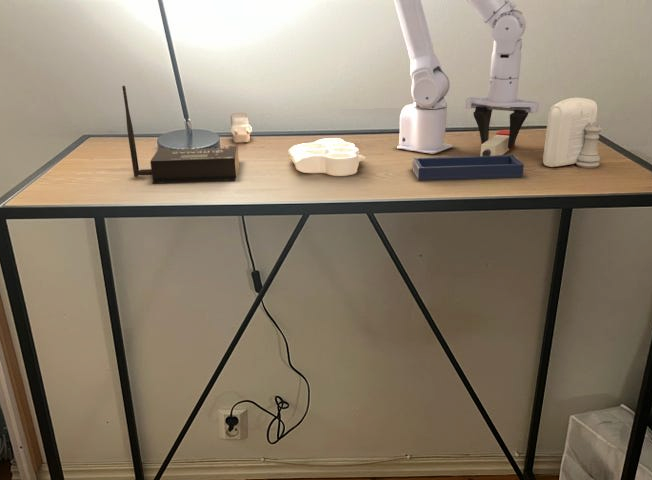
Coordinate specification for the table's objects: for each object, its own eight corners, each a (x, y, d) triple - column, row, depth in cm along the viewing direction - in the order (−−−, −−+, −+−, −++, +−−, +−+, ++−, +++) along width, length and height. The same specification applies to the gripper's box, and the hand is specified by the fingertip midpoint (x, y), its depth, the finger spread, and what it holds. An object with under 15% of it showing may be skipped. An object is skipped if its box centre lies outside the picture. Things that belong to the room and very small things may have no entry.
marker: (492, 162, 145) (494, 145, 143) (477, 160, 146) (478, 144, 145) (514, 146, 156) (516, 131, 154) (499, 145, 158) (501, 129, 156)
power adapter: (254, 148, 161) (252, 120, 158) (232, 149, 160) (230, 122, 157) (250, 137, 170) (248, 111, 167) (229, 138, 170) (227, 112, 167)
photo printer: (577, 157, 147) (586, 93, 141) (593, 162, 143) (603, 96, 137) (538, 164, 142) (546, 99, 137) (554, 169, 139) (562, 102, 133)
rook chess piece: (601, 164, 142) (608, 122, 138) (596, 169, 138) (603, 127, 134) (578, 161, 144) (584, 120, 140) (572, 167, 140) (579, 124, 136)
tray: (418, 181, 134) (418, 168, 133) (412, 170, 141) (412, 158, 140) (522, 177, 135) (524, 164, 134) (511, 167, 141) (512, 154, 140)
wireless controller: (239, 162, 149) (233, 74, 141) (235, 181, 137) (228, 86, 129) (143, 166, 149) (130, 78, 140) (130, 184, 137) (115, 89, 128)
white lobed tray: (287, 156, 153) (354, 152, 155) (298, 179, 137) (373, 174, 139) (286, 140, 151) (354, 136, 153) (297, 161, 136) (373, 156, 138)
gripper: (545, 76, 144) (537, 145, 151) (476, 72, 150) (470, 139, 157) (536, 81, 139) (527, 152, 145) (464, 77, 145) (459, 146, 152)
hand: (497, 146), depth 151 cm, fingers open, 5 cm apart
